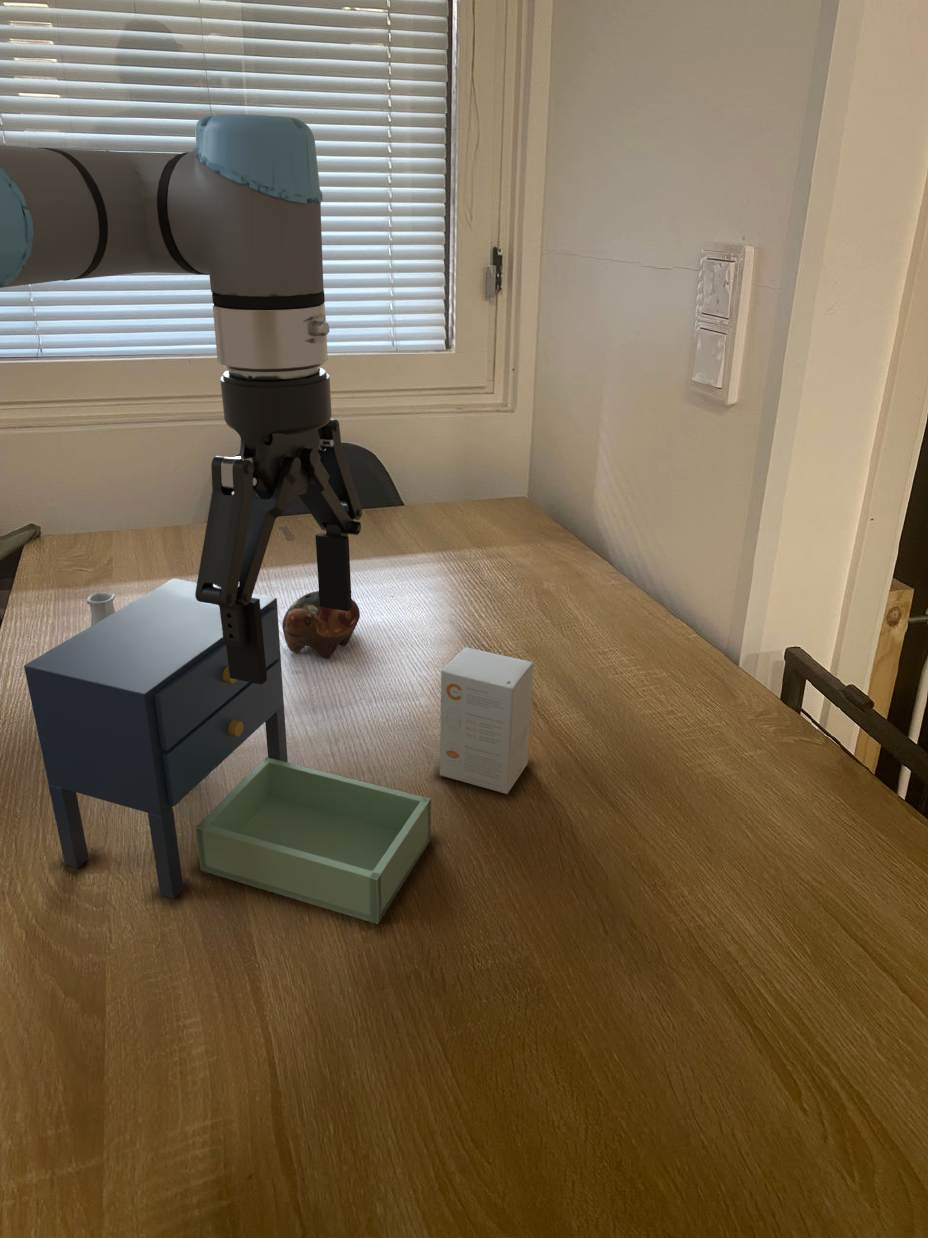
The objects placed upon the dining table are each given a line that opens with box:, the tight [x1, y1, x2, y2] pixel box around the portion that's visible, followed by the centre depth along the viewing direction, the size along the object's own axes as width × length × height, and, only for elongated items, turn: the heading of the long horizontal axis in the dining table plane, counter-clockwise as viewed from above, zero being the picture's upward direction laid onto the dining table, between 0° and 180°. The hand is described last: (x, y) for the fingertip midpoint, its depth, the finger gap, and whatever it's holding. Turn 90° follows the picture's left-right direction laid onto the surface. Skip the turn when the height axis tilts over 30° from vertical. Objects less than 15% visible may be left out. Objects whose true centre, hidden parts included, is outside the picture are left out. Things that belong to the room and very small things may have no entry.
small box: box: [439, 646, 534, 795], centre depth 96 cm, size 8×6×13 cm
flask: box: [86, 591, 116, 627], centre depth 115 cm, size 7×7×10 cm
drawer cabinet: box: [23, 577, 289, 899], centre depth 86 cm, size 13×20×21 cm
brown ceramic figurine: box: [281, 590, 361, 660], centre depth 123 cm, size 10×15×8 cm, turn 163°
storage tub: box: [195, 756, 432, 925], centre depth 85 cm, size 18×12×5 cm, turn 70°
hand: (295, 640), depth 72 cm, fingers open, 13 cm apart
